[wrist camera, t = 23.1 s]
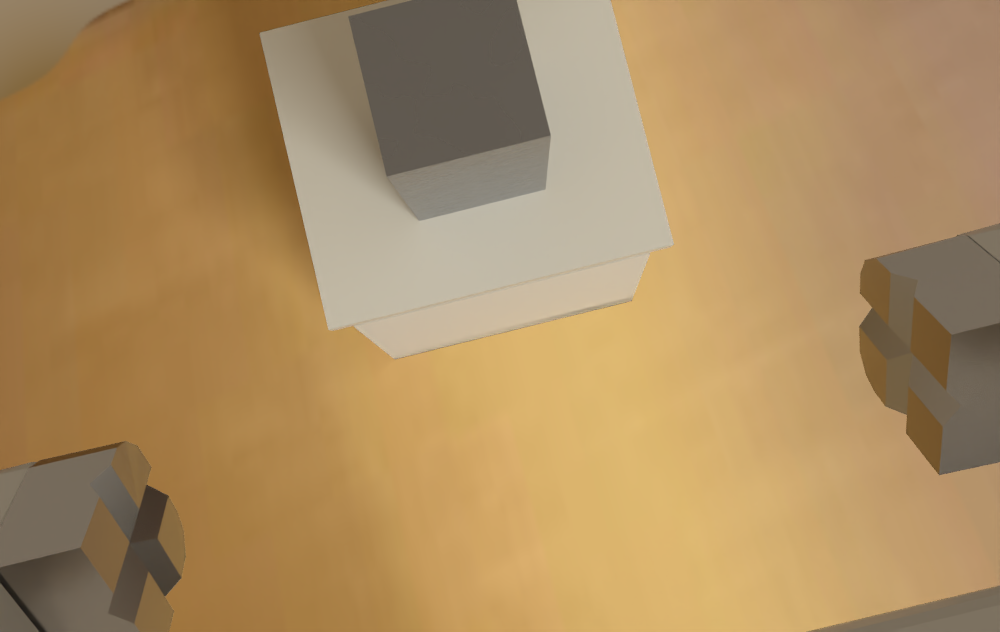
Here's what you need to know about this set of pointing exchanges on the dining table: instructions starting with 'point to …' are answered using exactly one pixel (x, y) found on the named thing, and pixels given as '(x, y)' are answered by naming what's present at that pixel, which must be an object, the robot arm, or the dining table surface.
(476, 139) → the block
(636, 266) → the carton
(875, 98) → the dining table surface
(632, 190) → the lid flap
